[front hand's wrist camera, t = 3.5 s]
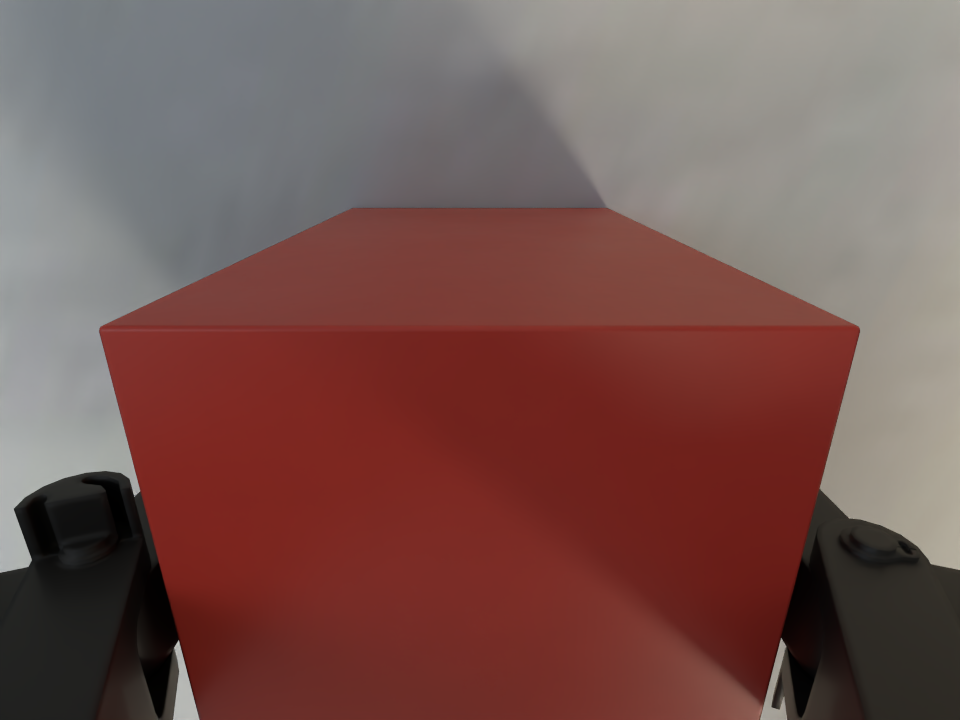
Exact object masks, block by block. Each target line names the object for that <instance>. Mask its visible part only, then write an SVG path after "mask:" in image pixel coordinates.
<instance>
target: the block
mask: <svg viewBox="0 0 960 720" xmlns="http://www.w3.org/2000/svg"><path fill="white" fill-rule="evenodd" d="M99 333H100V336H101V340H102V344H103V348H104V352H105V356H106V360H107V363H108V367H109V371H110V375H111V379H112V383H113V387H114V391H115V394H116V398H117V402H118V406H119V410H120V414H121V418H122V421H123V425H124V429H125V433H126V437H127V441H128V445H129V449H130V452H131V456H132V460H133V464H134V468H135V472H136V476H137V479H138V483H139V487H140V491H141V495H142V499H143V503H144V507H145V510H146V514H147V518H148V522H149V526H150V530H151V534H152V538H153V541H154V545H155V549H156V553H157V557H158V561H159V565H160V568H161V572H162V576H163V580H164V584H165V588H166V592H167V596H168V599H169V603H170V607H171V611H172V615H173V619H174V623H175V626H176V630H177V634H178V638H179V642H180V646H181V650H182V654H183V657H184V661H185V665H186V669H187V673H188V677H189V681H190V684H191V688H192V692H193V696H194V700H195V704H196V708H197V712H198V715H199V719H200V720H760V717H761V713H762V709H763V705H764V702H765V698H766V694H767V690H768V686H769V682H770V678H771V674H772V670H773V667H774V663H775V659H776V655H777V651H778V647H779V643H780V639H781V636H782V632H783V628H784V624H785V620H786V616H787V612H788V608H789V605H790V601H791V597H792V593H793V589H794V585H795V581H796V577H797V574H798V570H799V566H800V562H801V558H802V554H803V550H804V546H805V543H806V539H807V535H808V531H809V527H810V523H811V519H812V515H813V512H814V508H815V504H816V500H817V496H818V492H819V488H820V484H821V481H822V477H823V473H824V469H825V465H826V461H827V457H828V453H829V450H830V446H831V442H832V438H833V434H834V430H835V426H836V422H837V419H838V415H839V411H840V407H841V403H842V399H843V395H844V391H845V388H846V384H847V380H848V376H849V372H850V368H851V364H852V360H853V357H854V353H855V349H856V345H857V341H858V337H859V333H860V328H859V327H858V326H856V325H854V324H852V323H850V322H848V321H846V320H843V319H841V318H839V317H837V316H835V315H833V314H831V313H829V312H826V311H824V310H822V309H820V308H818V307H816V306H814V305H812V304H810V303H807V302H805V301H803V300H801V299H799V298H797V297H795V296H793V295H790V294H788V293H786V292H784V291H782V290H780V289H778V288H776V287H773V286H771V285H769V284H767V283H765V282H763V281H761V280H759V279H756V278H754V277H752V276H750V275H748V274H746V273H744V272H742V271H740V270H737V269H735V268H733V267H731V266H729V265H727V264H725V263H723V262H720V261H718V260H716V259H714V258H712V257H710V256H708V255H706V254H703V253H701V252H699V251H697V250H695V249H693V248H691V247H689V246H686V245H684V244H682V243H680V242H678V241H676V240H674V239H672V238H670V237H667V236H665V235H663V234H661V233H659V232H657V231H655V230H653V229H650V228H648V227H646V226H644V225H642V224H640V223H638V222H636V221H633V220H631V219H629V218H627V217H625V216H623V215H621V214H619V213H616V212H614V211H612V210H610V209H608V208H352V209H350V210H347V211H345V212H343V213H341V214H339V215H337V216H335V217H333V218H330V219H328V220H326V221H324V222H322V223H320V224H318V225H316V226H313V227H311V228H309V229H307V230H305V231H303V232H301V233H299V234H296V235H294V236H292V237H290V238H288V239H286V240H284V241H282V242H279V243H277V244H275V245H273V246H271V247H269V248H267V249H265V250H262V251H260V252H258V253H256V254H254V255H252V256H250V257H248V258H245V259H243V260H241V261H239V262H237V263H235V264H233V265H231V266H228V267H226V268H224V269H222V270H220V271H218V272H216V273H214V274H211V275H209V276H207V277H205V278H203V279H201V280H199V281H197V282H194V283H192V284H190V285H188V286H186V287H184V288H182V289H180V290H177V291H175V292H173V293H171V294H169V295H167V296H165V297H163V298H160V299H158V300H156V301H154V302H152V303H150V304H148V305H146V306H143V307H141V308H139V309H137V310H135V311H133V312H131V313H129V314H126V315H124V316H122V317H120V318H118V319H116V320H114V321H112V322H109V323H107V324H105V325H103V326H101V327H100V330H99Z"/></svg>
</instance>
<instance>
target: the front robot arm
mask: <svg viewBox="0 0 960 720" xmlns="http://www.w3.org/2000/svg"><path fill="white" fill-rule="evenodd" d="M14 511H15V514H16V517H17V519H18V522H19V525H20V528H21V530H22V533H23V536H24V539H25V542H26V544H27V547H28V550H29V553H30V555H31V558H32V561H31V563H30V565H29V567H26V568H22V569H17V570H12V571H7V572H2V573H0V720H173V715H174V707H175V699H176V691H177V683H178V675H179V668H178V662H177V657H176V653H175V649H174V647H175V645H176V643H177V642H178V640H179V638H178V634H177V630H176V626H175V623H174V619H173V615H172V611H171V607H170V603H169V599H168V596H167V592H166V588H165V584H164V580H163V576H162V572H161V568H160V565H159V561H158V557H157V553H156V549H155V545H154V541H153V538H152V534H151V530H150V526H149V522H148V518H147V514H146V510H145V507H144V503H143V499H142V495H141V491H140V492H139V493H138V494H137V495H136V496H135V497H134V494H133V491H132V487H131V483H130V479H129V478H127V477H126V476H124V475H123V474H121V473H116V472H108V471H102V472H90V473H84V474H80V475H76V476H72V477H67V478H64V479H61V480H59V481H56V482H54V483H51V484H49V485H46V486H44V487H42V488H40V489H39V490H37V491H35V492H34V493H32V494H30V495H29V496H27V497H25V498H24V499H23V500H22V501H21V502H20V503H19V504H18V505H17V506H16V507H15V508H14ZM781 638H782V640H783V641H784V643H785V644H786V649H785V653H784V657H783V661H782V665H781V668H780V672H779V676H778V680H777V683H776V687H775V691H774V695H773V701H772V707H773V708H776V709H779V710H780V706H781V703H782V699H783V697H785V705H786V713H787V720H960V570H956V569H951V568H946V567H941V566H936V565H932V564H930V562H929V560H928V559H927V557H926V556H925V555H924V554H923V553H922V551H921V550H920V549H919V548H918V547H917V546H916V545H914V544H913V543H912V542H910V541H909V540H907V539H906V538H905V537H903V536H902V535H900V534H898V533H896V532H893V531H891V530H889V529H887V528H885V527H883V526H880V525H877V524H873V523H870V522H866V521H863V520H858V519H849V518H848V517H847V516H846V515H845V514H844V513H843V512H842V511H841V510H840V509H839V508H838V507H837V506H836V505H835V504H834V503H833V502H832V501H831V500H830V499H829V498H828V497H827V496H826V495H825V494H824V493H823V492H822V491H821V490H820V489H819V492H818V496H817V500H816V504H815V508H814V512H813V515H812V519H811V523H810V527H809V531H808V535H807V539H806V543H805V546H804V550H803V554H802V558H801V562H800V566H799V570H798V574H797V577H796V581H795V585H794V589H793V593H792V597H791V601H790V605H789V608H788V612H787V616H786V620H785V624H784V628H783V632H782V636H781Z"/></svg>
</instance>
